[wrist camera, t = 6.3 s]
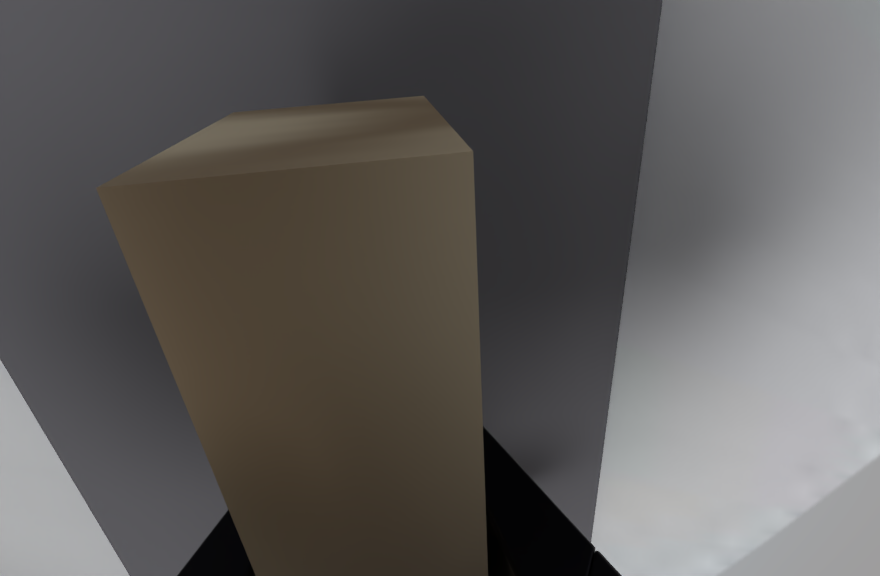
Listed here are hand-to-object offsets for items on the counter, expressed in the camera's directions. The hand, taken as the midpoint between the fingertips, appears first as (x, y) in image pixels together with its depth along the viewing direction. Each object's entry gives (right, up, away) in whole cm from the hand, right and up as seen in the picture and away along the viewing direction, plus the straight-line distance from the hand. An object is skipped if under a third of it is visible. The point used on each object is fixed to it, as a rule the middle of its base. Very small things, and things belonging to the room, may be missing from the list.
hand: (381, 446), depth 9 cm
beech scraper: (0, 0, +1) cm, 1 cm away
